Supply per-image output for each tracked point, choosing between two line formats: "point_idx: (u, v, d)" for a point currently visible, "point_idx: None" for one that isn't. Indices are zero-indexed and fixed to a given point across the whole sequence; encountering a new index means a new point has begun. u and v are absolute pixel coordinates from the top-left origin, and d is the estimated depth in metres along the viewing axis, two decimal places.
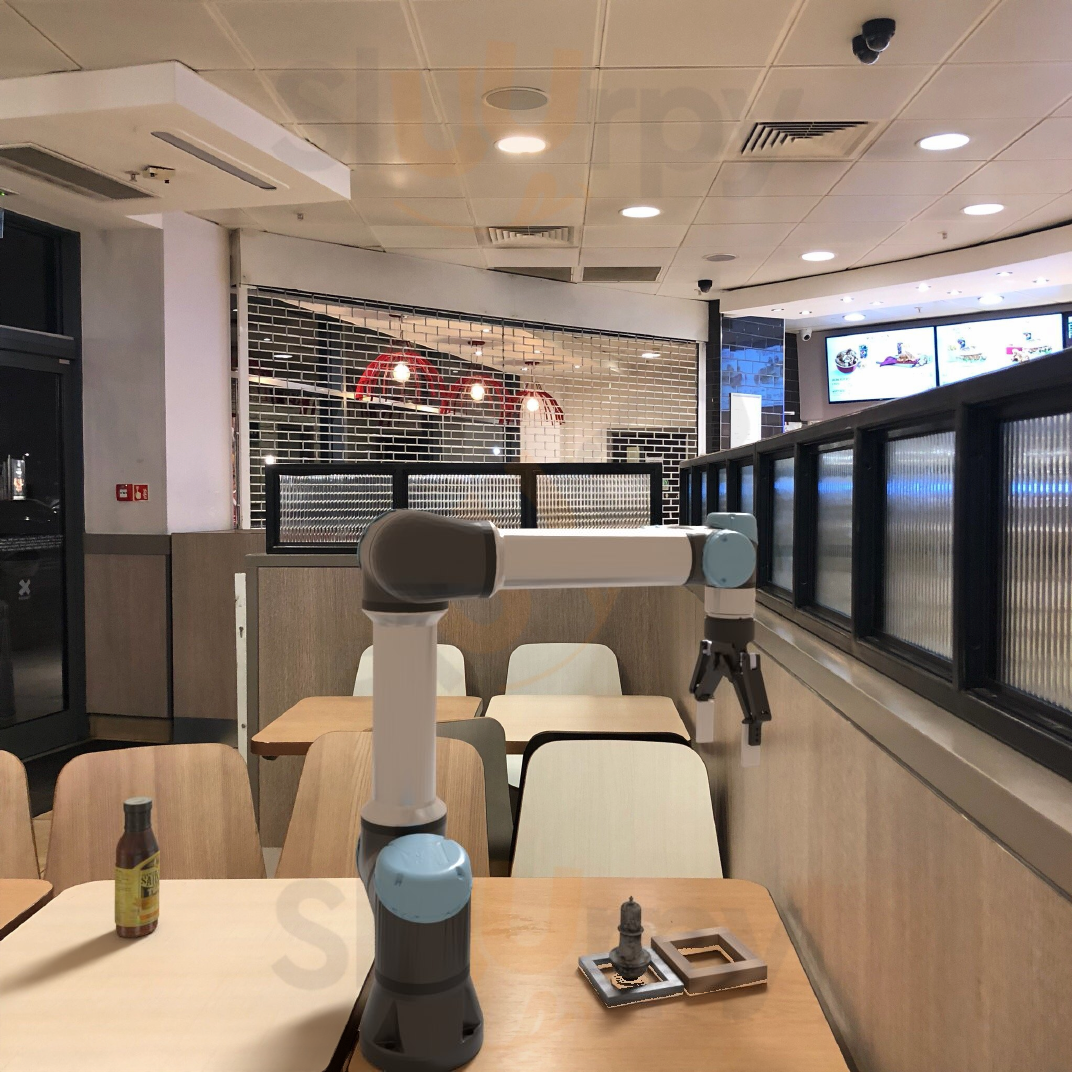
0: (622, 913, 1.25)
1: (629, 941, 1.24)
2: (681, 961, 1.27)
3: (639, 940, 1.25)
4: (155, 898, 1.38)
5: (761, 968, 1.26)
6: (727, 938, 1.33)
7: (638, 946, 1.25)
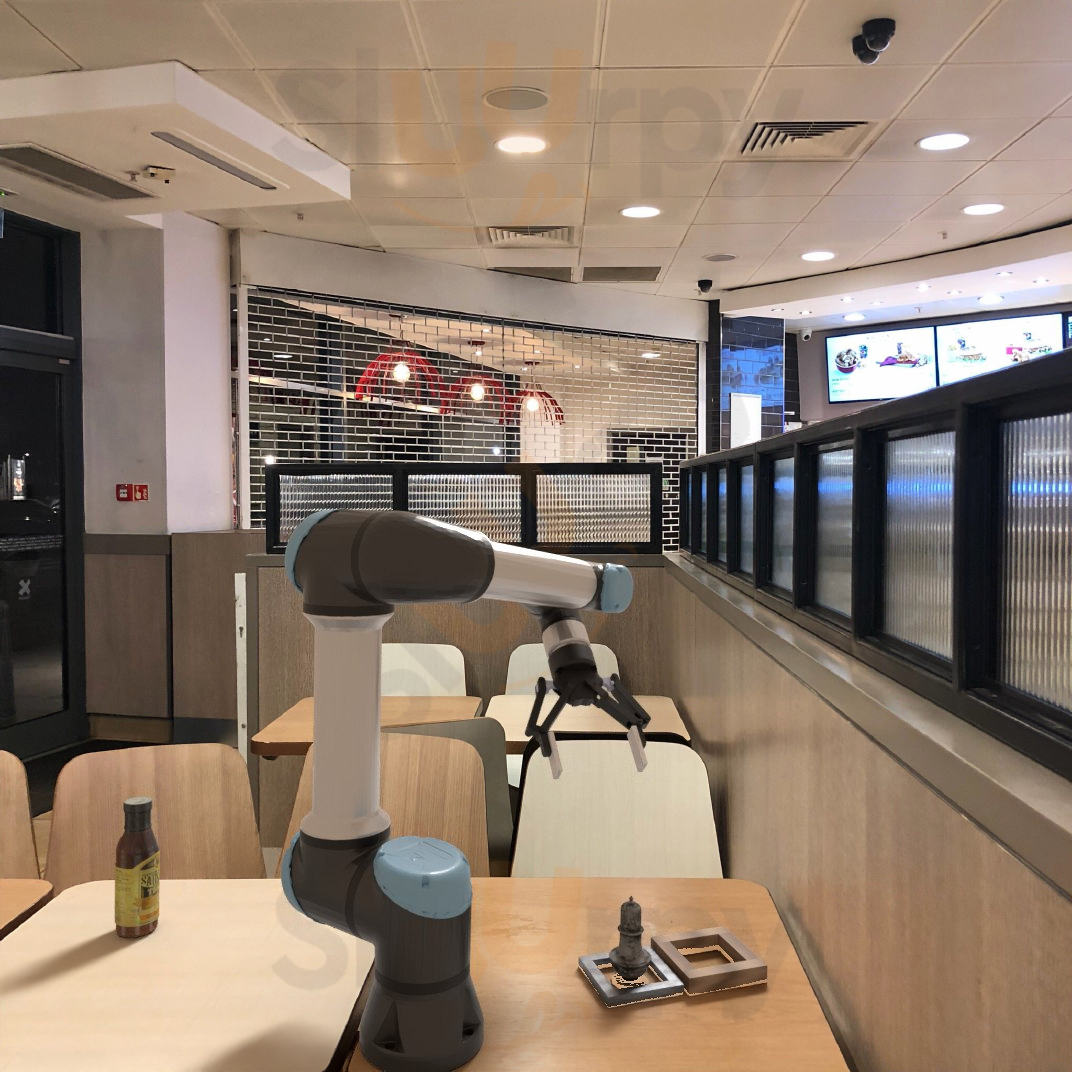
0: (622, 913, 1.25)
1: (629, 941, 1.24)
2: (681, 961, 1.27)
3: (639, 940, 1.25)
4: (155, 898, 1.38)
5: (761, 968, 1.26)
6: (727, 938, 1.33)
7: (638, 946, 1.25)
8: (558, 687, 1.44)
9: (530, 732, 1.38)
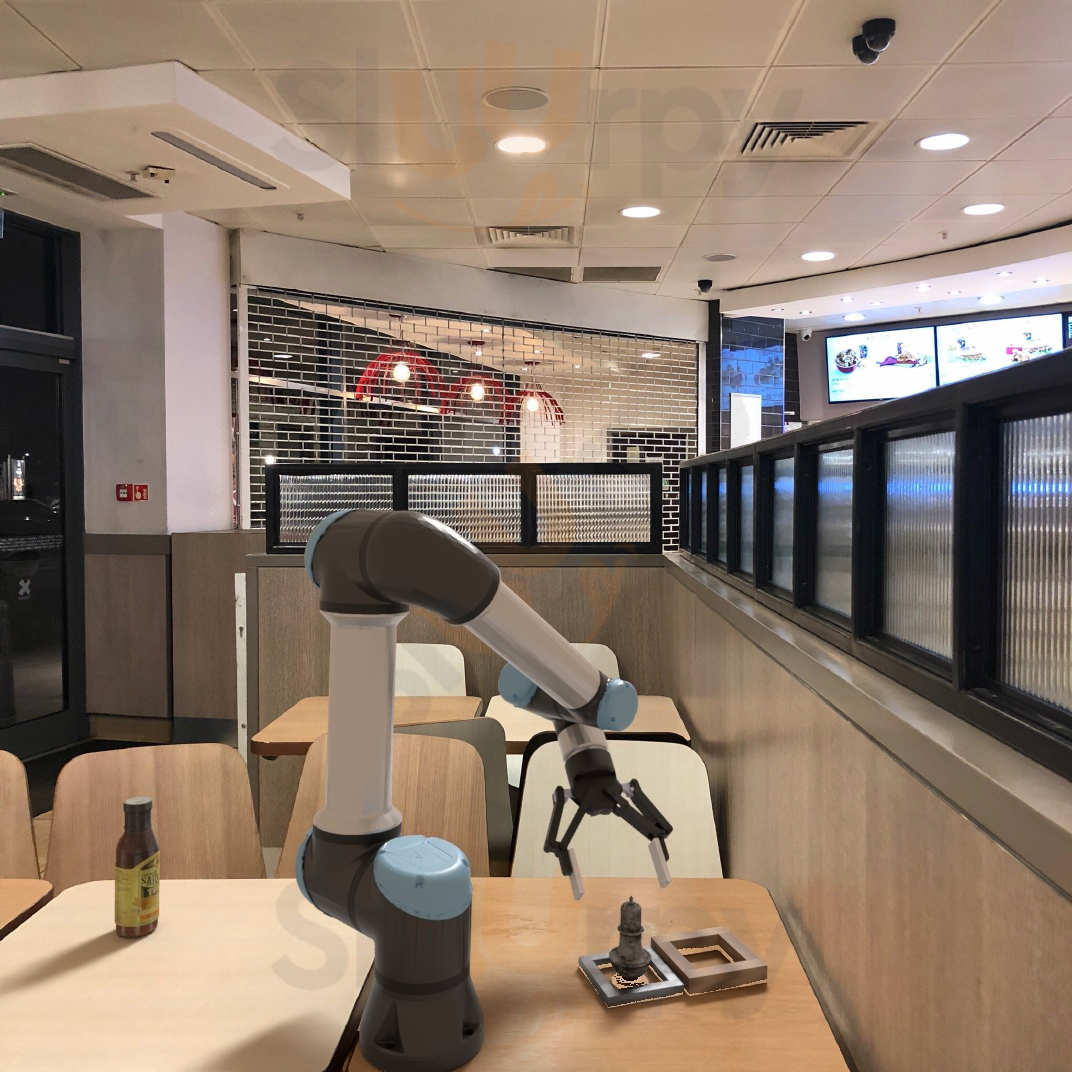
0: (622, 913, 1.25)
1: (629, 941, 1.24)
2: (681, 961, 1.27)
3: (639, 940, 1.25)
4: (155, 898, 1.38)
5: (761, 968, 1.26)
6: (727, 938, 1.33)
7: (638, 946, 1.25)
8: (577, 796, 1.39)
9: (549, 849, 1.33)
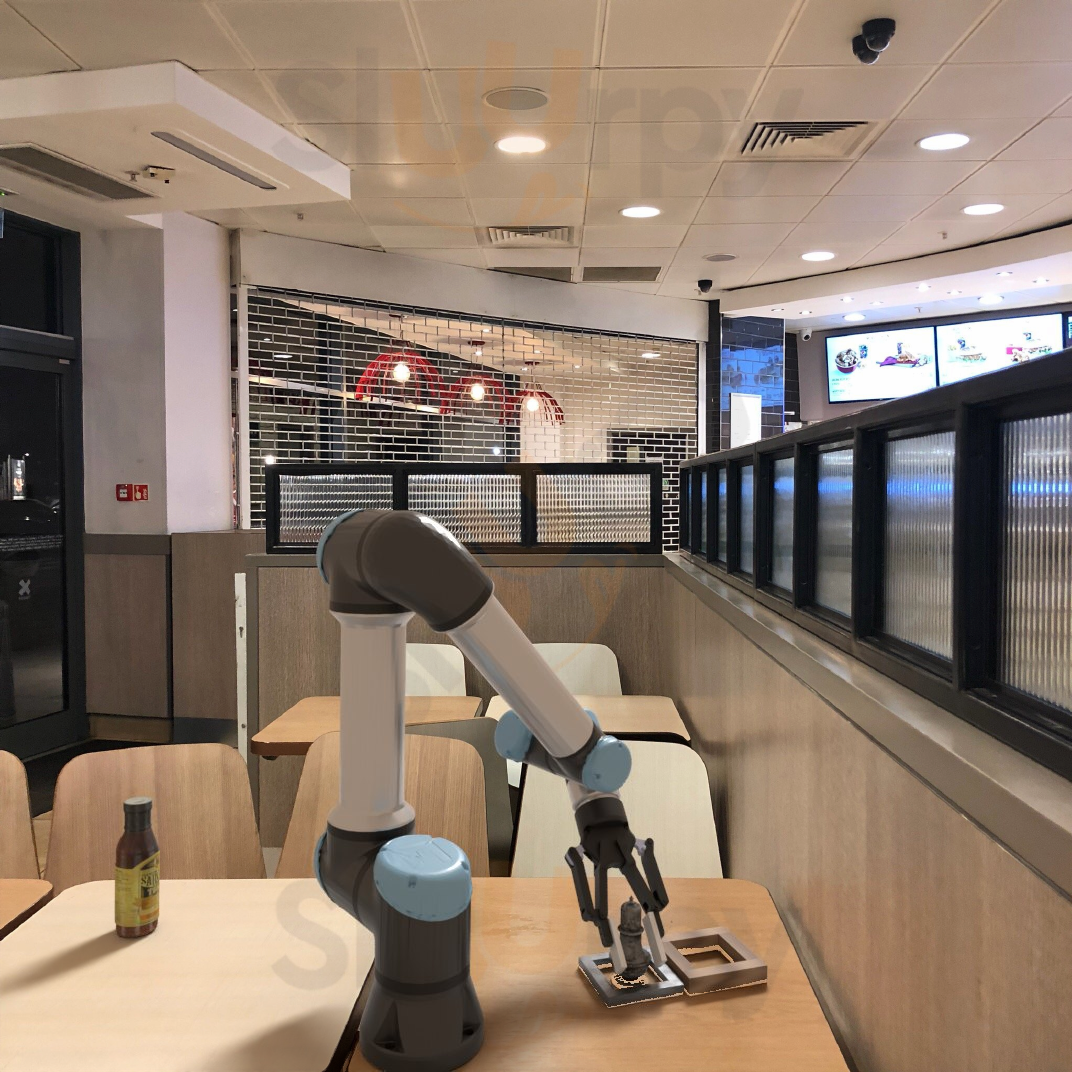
0: (622, 913, 1.25)
1: (629, 941, 1.24)
2: (681, 961, 1.27)
3: (639, 940, 1.25)
4: (155, 898, 1.38)
5: (761, 968, 1.26)
6: (727, 938, 1.33)
7: (638, 946, 1.25)
8: None
9: None
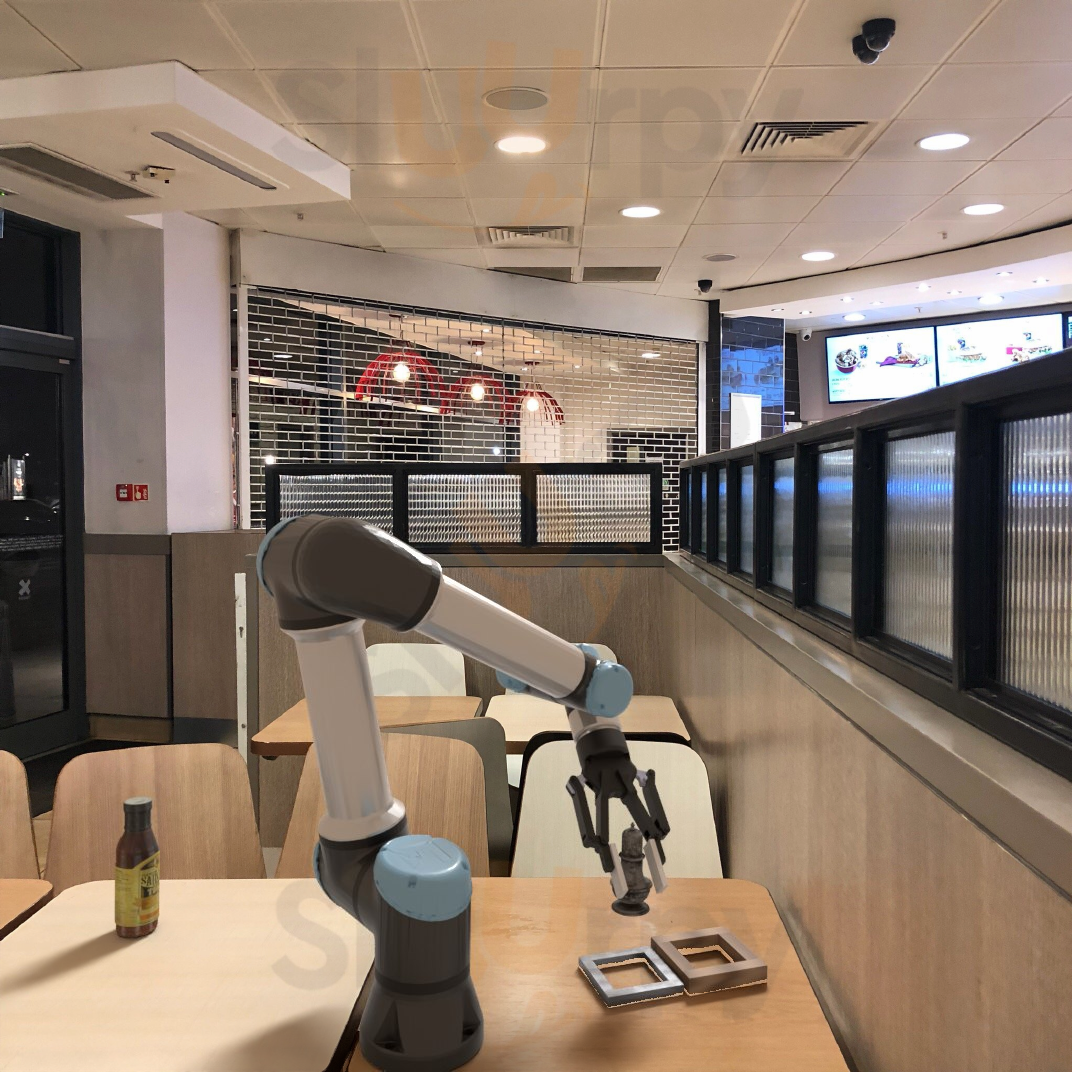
0: (623, 839, 1.25)
1: (630, 867, 1.24)
2: (681, 961, 1.27)
3: (640, 866, 1.24)
4: (155, 898, 1.38)
5: (761, 968, 1.26)
6: (727, 938, 1.33)
7: (640, 872, 1.24)
8: None
9: (591, 843, 1.25)
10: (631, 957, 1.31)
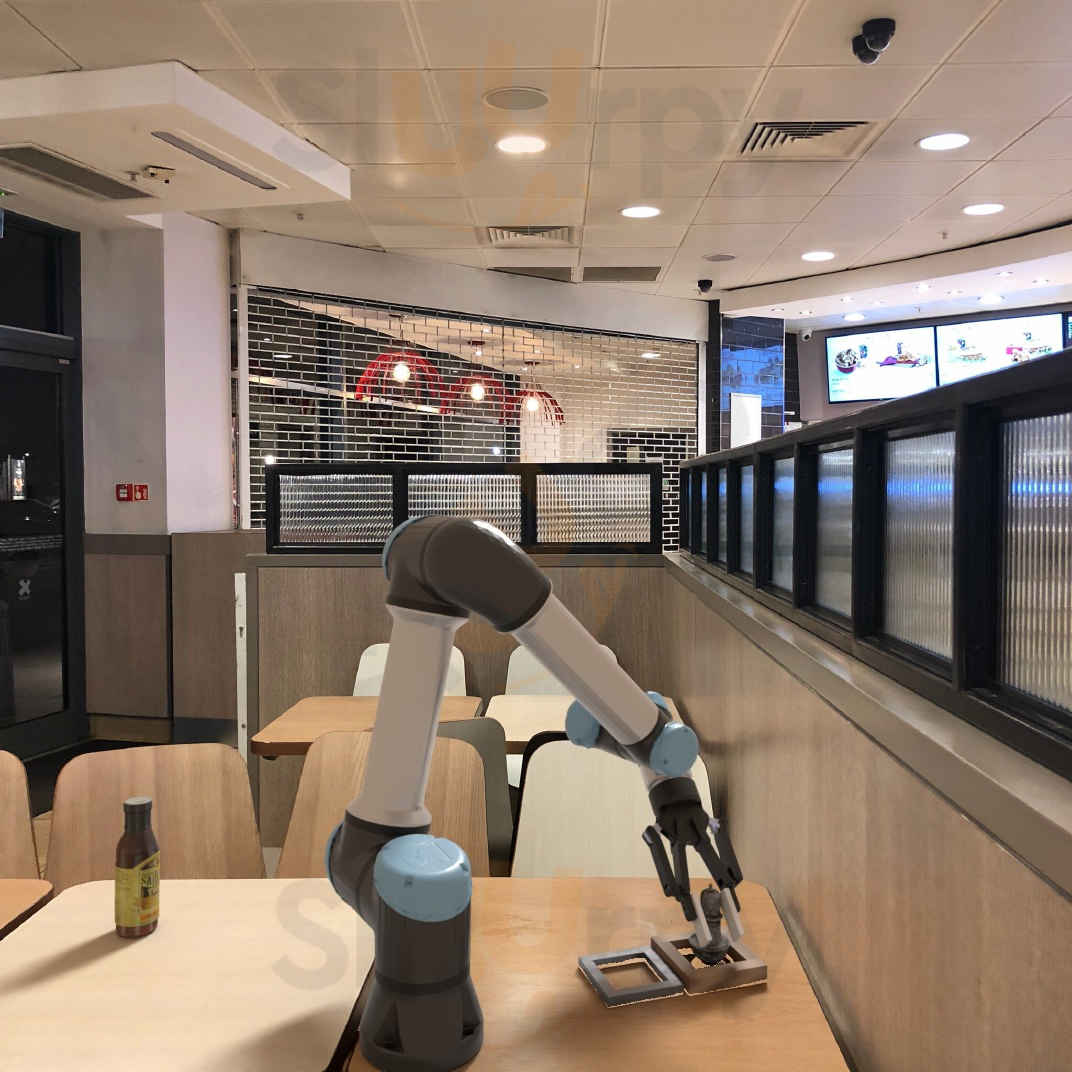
0: (703, 900, 1.29)
1: (711, 927, 1.29)
2: (681, 961, 1.27)
3: (719, 925, 1.30)
4: (155, 898, 1.38)
5: (761, 968, 1.26)
6: None
7: (719, 931, 1.29)
8: None
9: (673, 893, 1.29)
10: (631, 957, 1.31)
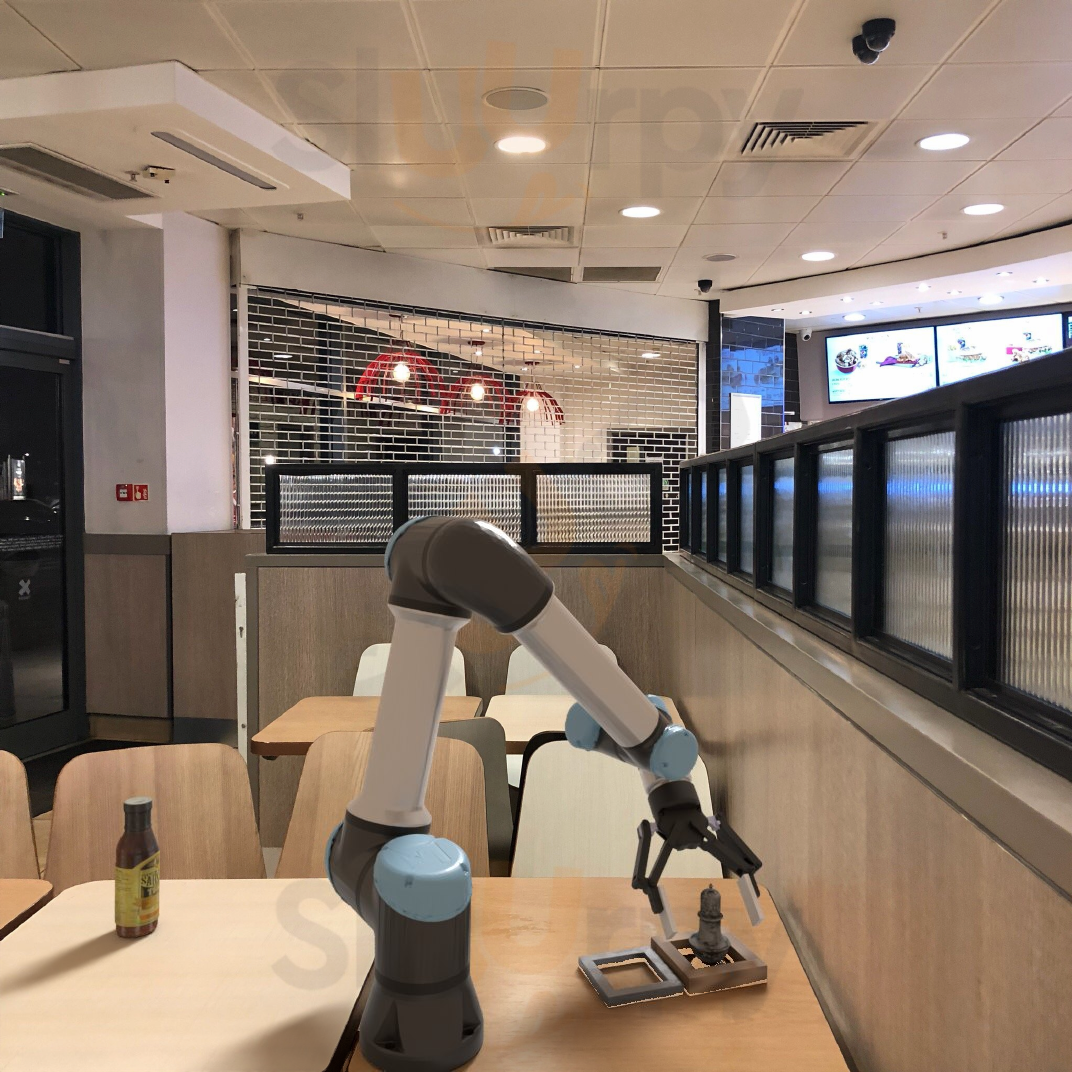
0: (703, 900, 1.29)
1: (711, 927, 1.29)
2: (681, 961, 1.27)
3: (720, 925, 1.30)
4: (155, 898, 1.38)
5: (761, 968, 1.26)
6: None
7: (719, 931, 1.29)
8: (663, 830, 1.35)
9: (638, 885, 1.29)
10: (631, 957, 1.31)
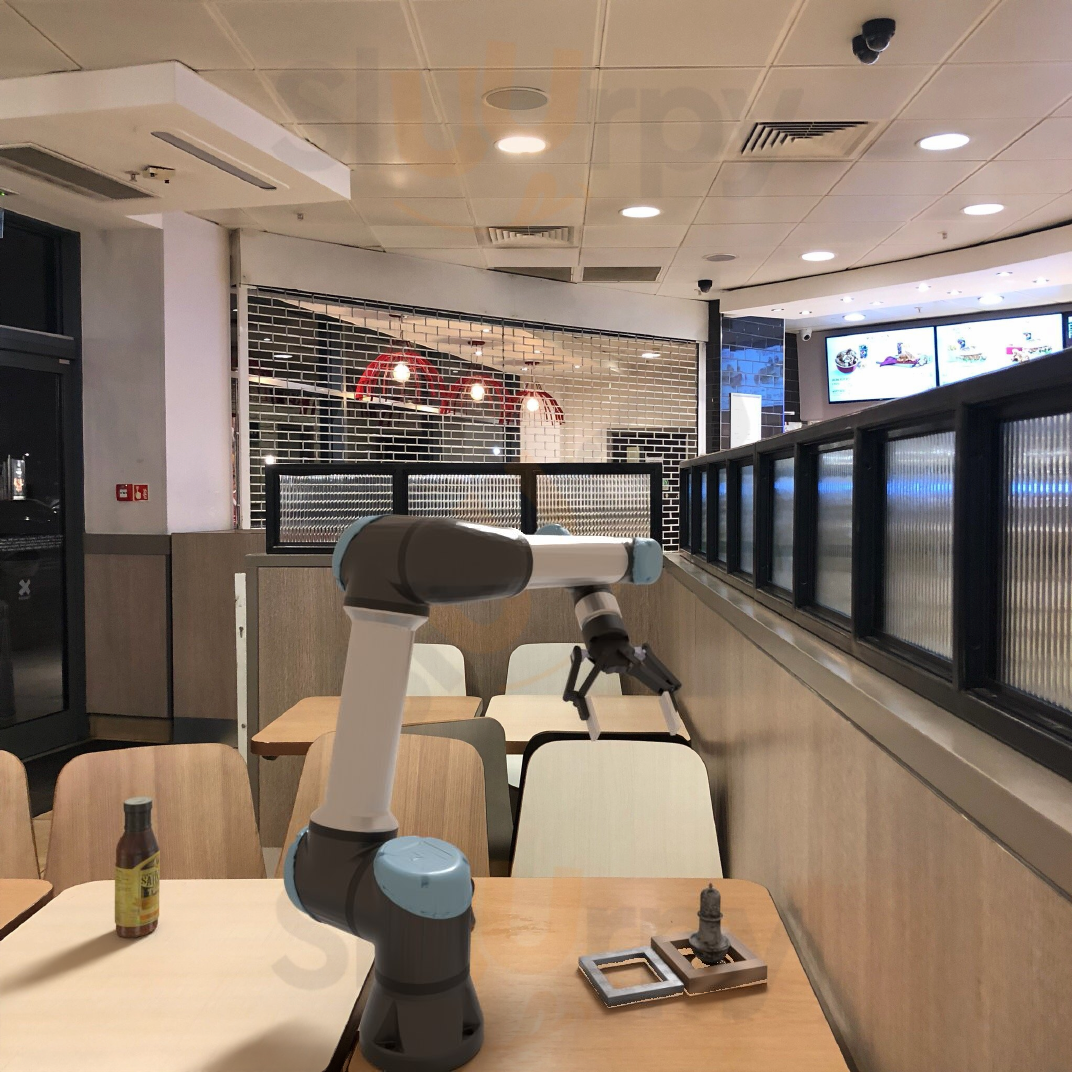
0: (703, 900, 1.29)
1: (711, 926, 1.29)
2: (681, 961, 1.27)
3: (719, 925, 1.30)
4: (155, 898, 1.38)
5: (761, 968, 1.26)
6: None
7: (719, 931, 1.30)
8: (593, 655, 1.51)
9: (568, 697, 1.45)
10: (631, 957, 1.31)
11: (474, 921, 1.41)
